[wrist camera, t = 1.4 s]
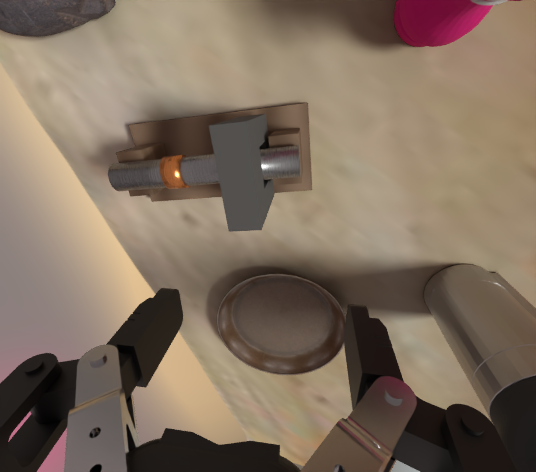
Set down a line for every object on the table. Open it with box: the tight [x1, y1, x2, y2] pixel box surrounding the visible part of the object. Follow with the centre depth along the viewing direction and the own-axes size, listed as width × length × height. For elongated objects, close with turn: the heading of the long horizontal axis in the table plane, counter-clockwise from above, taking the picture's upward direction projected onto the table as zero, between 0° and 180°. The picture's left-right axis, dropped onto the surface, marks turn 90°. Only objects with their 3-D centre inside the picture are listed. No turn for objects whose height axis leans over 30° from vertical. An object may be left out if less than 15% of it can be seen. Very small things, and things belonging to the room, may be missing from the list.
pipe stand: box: [116, 103, 312, 202], centre depth 34 cm, size 22×10×7 cm, turn 97°
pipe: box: [108, 145, 301, 191], centre depth 30 cm, size 20×3×3 cm, turn 97°
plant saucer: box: [217, 273, 346, 375], centre depth 46 cm, size 21×21×3 cm
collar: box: [209, 114, 275, 231], centre depth 28 cm, size 3×9×10 cm, turn 7°
